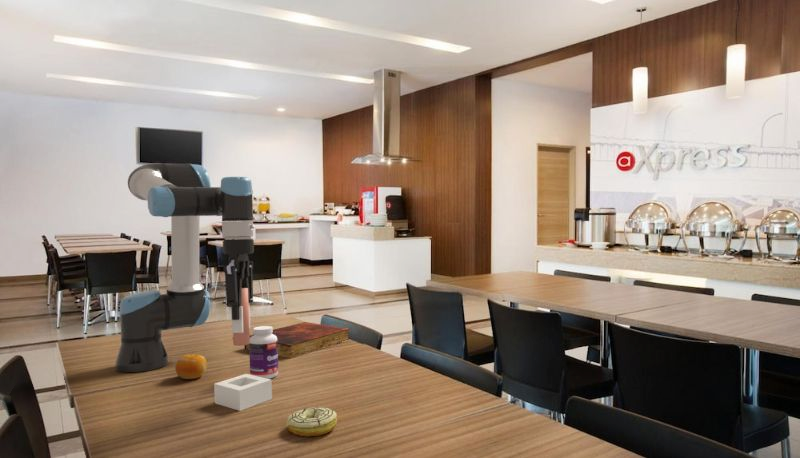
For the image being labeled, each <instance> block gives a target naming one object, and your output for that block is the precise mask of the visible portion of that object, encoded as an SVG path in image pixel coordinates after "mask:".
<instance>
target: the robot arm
mask: <svg viewBox="0 0 800 458" xmlns="http://www.w3.org/2000/svg"><path fill="white" fill-rule="evenodd" d="M252 184H253V183H252V179H250V178H249V177H248V176H225V177H222V178H221V180H220V186H219V187H217V186H216V187H215V186H211V180H210V176H209V173H208V171H207V169H206V168H205V167H204V166H203V165H200V164H194V163H193V164H192V163H167V162H166V163H165V162H164V163H163V162H152V163H146V164H143V165H140V166H138V167H137V168H134V170H132V172H131V173H130V174H129V176H128V179H127V187H128V190H129V192H130V193H131V194H132V196H134V197H135V198H137V199H139V200H142V201H146V202H147V209H148V211H149V212H148V213H149V214H150V216H152V217H161V218H168V217H171V223H170V224H171V227H170V228H171V229H170V230H171V235H170V237H171V241H170V242H171V246H170V247H171V283H170V284H169V285H168V286H166V293H162V294H161V291H159V290H146V291H145V290H144V291H141V292H136V293H132V294H128V295H127V296H125V297H123V298H122V299H121V300H120V303H119V304H120V305H119V313H118V314H119V315H120V316H119V317H120V320H119V321H120V342H121V344H120V348H119V350H118V354H117V357H116V360H115V370H116V371H117V372H120V373H121V372H122V373H139V372H146V371H153V370H156V369H159V368H160V369H161V368H162V367H165V366H166V365H168V364H169V355H168V352H167V350H166V348H165V345H164V343H163V340H162V332H163V331H167V330H168V331H169V330H175V329H182V328H188V327H189V328H193V327H196V326H201V325H203V324H205V322H206V321H207V320H208V318H209V315H210V312H211V311H210V310H211V300H210V299H211V296H210V293H209V291H207V290H206V289H205V285H203V284H202V283H201V281H200V217H203V216H204V217H207V216H208V217H209V216H210V217H212V216H213V217H221V229H222V231H221V232H222V233H221V234H222V235H221V236H222V238H224V239H223V240H222V253H223V255H228V265H224V266H223V273H224V277H225V278H224V279H225V281H224V282H225V301H226V302H225V303H226V307H227V308H230V314H231V315H230V317H231V320H230V321H231V323H230V324H231V333H232V334H233V333H243V306H241V290H242V288H248V302H249V330H250V329H251V309H250V308H251V307H250V303H254V280H253V273H254V272H253V270H254V269H253V268H254V261H250V260H249V255H250V254H253V253H254V252H255V240H254V239H253V238H252V237H253V236H254V229H255V228H256V226H255V225H254V214H253V213H254V212H253V211H254V209H253V207H254V204H253V194H254V193H253V192H254V191H253V186H252Z"/></svg>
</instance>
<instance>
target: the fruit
mask: <svg viewBox="0 0 800 458" xmlns="http://www.w3.org/2000/svg"><path fill="white" fill-rule="evenodd" d="M207 369H208V362H207V359H206V358H205V356H203V355H201V354H197V353H196V354H195V353H191V354H190V353H189V354H185V355H184V354H183V355H182V356H180V357H179V358H178V360H177V361H176V363H175V372H176V374H177V376H178V377H180V378H181V379H184V380H195V379H199V378H200V377H202V376H203V375H205V373H206V371H207Z"/></svg>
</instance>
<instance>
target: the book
mask: <svg viewBox="0 0 800 458" xmlns="http://www.w3.org/2000/svg"><path fill="white" fill-rule="evenodd" d="M350 330H351V328H350V327H344V326H342V327H341V326H334V325H327V324H323V323H314V322H306V321H304V322H299V323H296V324H291V325H288V326H284V327H283V326H282V327H280V328H275V329H274V328H273V332H272V334H274V335H275V336H276V337H277V344H278V357H283V358H287V359H293V358H296V357H299V356H302V355H307V354H308V353H309V352H310V353H313V352H315V350H316V351H319V350H318V349H320V350H322V349H321V348H323V347H326V348H328V347H327V346H329V347H331V346H330V345H333V344H336V343H339V342H342V341H345V340H349V341H350V339H349V338H350V336H349V334H350V333H349V331H350ZM252 336H254V333H253V334H250V338H251V337H252ZM339 344H340V343H339ZM336 345H337V344H336ZM333 346H334V345H333ZM323 349H324V348H323ZM244 350H247V351H249V344H248V345H244ZM312 351H313V352H312ZM306 353H307V354H306Z"/></svg>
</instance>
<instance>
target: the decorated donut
mask: <svg viewBox="0 0 800 458" xmlns="http://www.w3.org/2000/svg"><path fill="white" fill-rule="evenodd" d="M337 415H338V414H337V412H336V411H334V410H333V409H331V408H328V407H319V406H318V407H307V408H303V409H302V408H301V409H300V410H297V411H294V412H293V413H291V414H290V415H288V417H287V418H286V419H287V420H286V426H287V429H288V431H289V432H290V433H293V435H296V436H299V435H300V436H299V437H306V438H309V437H319V436H323V435H324V436H325V435H326V434H328V433H329V432H332V430H333V429H334V427H336V425H337V423H338V417H337Z"/></svg>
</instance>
